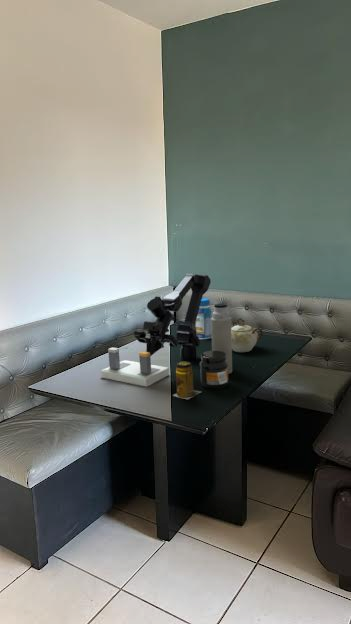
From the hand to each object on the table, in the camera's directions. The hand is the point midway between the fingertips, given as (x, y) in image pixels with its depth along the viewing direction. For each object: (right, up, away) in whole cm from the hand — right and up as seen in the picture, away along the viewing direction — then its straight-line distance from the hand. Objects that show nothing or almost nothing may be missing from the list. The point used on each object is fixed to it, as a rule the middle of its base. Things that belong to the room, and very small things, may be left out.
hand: (147, 357), depth 194 cm
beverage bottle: (+26, +5, +59) cm, 65 cm away
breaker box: (-5, -8, +7) cm, 12 cm away
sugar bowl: (+42, 0, +35) cm, 55 cm away
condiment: (+15, -12, -15) cm, 24 cm away
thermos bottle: (+30, -7, +7) cm, 32 cm away
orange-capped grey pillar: (-1, -6, 0) cm, 6 cm away
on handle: (-14, -5, +7) cm, 16 cm away
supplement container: (+26, -10, -6) cm, 28 cm away
